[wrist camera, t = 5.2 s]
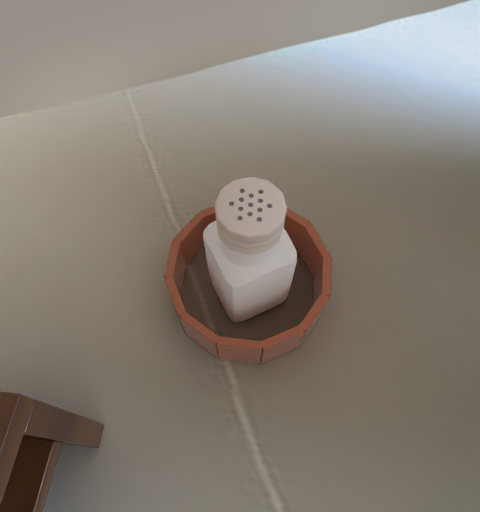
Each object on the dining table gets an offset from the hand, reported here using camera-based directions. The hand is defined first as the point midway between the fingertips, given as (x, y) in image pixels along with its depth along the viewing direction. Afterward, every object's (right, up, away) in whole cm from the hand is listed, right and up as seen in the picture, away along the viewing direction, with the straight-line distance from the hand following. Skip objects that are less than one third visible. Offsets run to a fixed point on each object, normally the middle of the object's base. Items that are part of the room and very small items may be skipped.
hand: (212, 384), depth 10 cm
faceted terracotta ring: (+1, +1, +17) cm, 17 cm away
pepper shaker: (+1, +1, +17) cm, 17 cm away
